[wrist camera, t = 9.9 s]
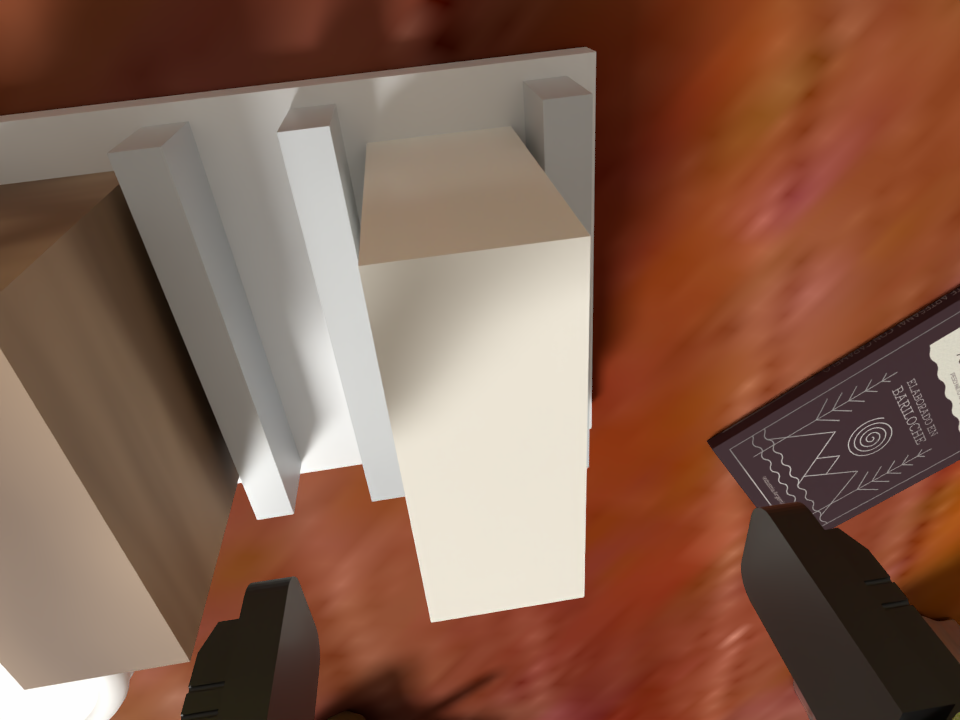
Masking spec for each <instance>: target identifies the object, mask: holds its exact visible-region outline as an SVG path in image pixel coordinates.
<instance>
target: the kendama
mask: <svg viewBox="0 0 960 720" xmlns="http://www.w3.org/2000/svg"><path fill="white" fill-rule="evenodd" d="M327 720H365V718H364V716H363V715H359V714H356V713H353V712H350V711H343V712H341V713H339V714H337V715H334V716H332V717H330V718H328V719H327Z"/></svg>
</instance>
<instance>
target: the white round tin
mask: <svg viewBox="0 0 960 720" xmlns="http://www.w3.org/2000/svg"><path fill="white" fill-rule="evenodd" d="M134 672H135V671H132V672H126V673H120V674H114V675H108V676H103V677H97V678H91V679H85V680H79V681H73V682H67V683H62V684H56V685H50V686H44V687H38V688H32V689H27V690H24V689H23V688H22V687H21V686H20V684H19V683H18V682H17V681H16V680H15V679H14V678H13V677H12V676H11V674H10V673H9V672H8V671H7V670H6V669H5V668H4V667H3V666H2V665H1V663H0V720H109V719H110V718H111V717H112V716H113V715H114V714H115V713H116V712H117V710H118V709H119V707H120V706H121V704H122V703H123V701H124V699H125V698H126V695H127V692H128V690H129V681H130V678H131V677H132V675H133V673H134Z"/></svg>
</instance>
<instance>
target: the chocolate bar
mask: <svg viewBox="0 0 960 720" xmlns="http://www.w3.org/2000/svg"><path fill="white" fill-rule="evenodd" d="M707 442H708V444H709V445H710V447H711V448H712V450H713V451H714V452H715V454H716V455H717V456H718V458H719V459H720V460H721V462H722V463H723V464H724V465H725V467H726V468H727V469H728V471H729V472H730V473H731V475H732V476H733V477H734V479H735V480H736V481H737V483H738V484H739V485H740V486H741V488H742V489H743V490H744V492H745V493H746V494H747V496H748V497H749V498H750V500H751V501H752V502H753V504H754V505H755V506H756V507H757V508H759V507H765V506H772V505H778V504H785V503H792V502H800V503H802V504H804V505H805V506H806V507H808V509H809V510H810V511H811V512H812V514H813V515H814V516H815V518H816V519H817V520H818V522H819V523H820V524H821V526H822V527H823V528H824V530H827V529H832V528H834V527H836V526H838V525H840V524H841V523H843V522H845V521H847V520H849V519H851V518H853V517H854V516H856V515H858V514H860V513H862V512H864V511H866V510H867V509H869V508H871V507H873V506H875V505H877V504H879V503H880V502H882V501H884V500H886V499H888V498H890V497H891V496H893V495H895V494H897V493H899V492H901V491H903V490H904V489H906V488H908V487H910V486H912V485H914V484H916V483H917V482H919V481H921V480H923V479H925V478H927V477H929V476H930V475H932V474H934V473H936V472H938V471H940V470H942V469H943V468H945V467H947V466H949V465H951V464H953V463H955V462H956V461H958V460H960V287H958V288H957V289H955V290H954V291H952V292H950V293H949V294H947V295H945V296H944V297H942V298H940V299H939V300H937V301H936V302H934V303H932V304H931V305H929V306H927V307H926V308H924V309H922V310H921V311H919V312H918V313H916V314H914V315H913V316H911V317H909V318H908V319H906V320H904V321H903V322H901V323H899V324H898V325H896V326H895V327H893V328H891V329H890V330H888V331H886V332H885V333H883V334H881V335H880V336H878V337H877V338H875V339H873V340H872V341H870V342H868V343H867V344H865V345H863V346H862V347H860V348H859V349H857V350H855V351H854V352H852V353H850V354H849V355H847V356H845V357H844V358H842V359H840V360H839V361H837V362H836V363H834V364H832V365H831V366H829V367H827V368H826V369H824V370H822V371H821V372H819V373H818V374H816V375H814V376H813V377H811V378H809V379H808V380H806V381H804V382H803V383H801V384H800V385H798V386H796V387H795V388H793V389H791V390H790V391H788V392H786V393H785V394H783V395H781V396H780V397H778V398H777V399H775V400H773V401H772V402H770V403H768V404H767V405H765V406H763V407H762V408H760V409H759V410H757V411H755V412H754V413H752V414H750V415H749V416H747V417H745V418H744V419H742V420H741V421H739V422H737V423H736V424H734V425H732V426H731V427H729V428H727V429H726V430H724V431H722V432H721V433H719V434H718V435H716V436H714V437H713V438H711V439H709V440H708V441H707Z"/></svg>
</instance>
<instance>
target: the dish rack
mask: <svg viewBox="0 0 960 720" xmlns="http://www.w3.org/2000/svg"><path fill="white" fill-rule="evenodd" d="M595 105H596V51H594V50H592V49H590V48H588V47H580V48H571V49H563V50H554V51H546V52H537V53H529V54H520V55H512V56H504V57H495V58H487V59H478V60H470V61H461V62H453V63H444V64H436V65H427V66H419V67H410V68H402V69H393V70H385V71H376V72H368V73H359V74H351V75H342V76H334V77H325V78H317V79H308V80H300V81H291V82H283V83H274V84H266V85H257V86H249V87H241V88H232V89H224V90H215V91H207V92H198V93H190V94H181V95H173V96H164V97H156V98H147V99H139V100H130V101H122V102H113V103H105V104H96V105H88V106H79V107H71V108H62V109H54V110H45V111H37V112H28V113H20V114H11V115H3V116H0V185H4V184H12V183H20V182H28V181H36V180H44V179H52V178H60V177H68V176H76V175H84V174H92V173H100V172H108V171H114V172H115V175H116V177H117V180H118V182H119V185H120V187H121V189H122V192H123V194H124V197H125V199H126V202H127V204H128V206H129V209H130V211H131V214H132V216H133V219H134V221H135V223H136V226H137V228H138V231H139V233H140V236H141V238H142V240H143V243H144V245H145V248H146V250H147V253H148V255H149V258H150V260H151V262H152V265H153V267H154V270H155V272H156V275H157V277H158V279H159V282H160V284H161V287H162V289H163V292H164V294H165V296H166V299H167V301H168V304H169V306H170V309H171V311H172V313H173V316H174V318H175V321H176V323H177V326H178V328H179V330H180V333H181V335H182V338H183V340H184V343H185V345H186V348H187V350H188V352H189V355H190V357H191V360H192V362H193V365H194V367H195V369H196V372H197V374H198V377H199V379H200V382H201V384H202V386H203V389H204V391H205V394H206V396H207V399H208V401H209V403H210V406H211V408H212V411H213V413H214V416H215V418H216V421H217V423H218V425H219V428H220V430H221V433H222V435H223V438H224V440H225V442H226V445H227V447H228V450H229V452H230V455H231V457H232V459H233V462H234V464H235V467H236V469H237V472H238V474H239V479H238V483H242V484H243V486H244V489H245V491H246V493H247V496H248V498H249V501H250V503H251V506H252V508H253V511H254V513H255V515H256V518H257V520H259V519H265V518H272V517H278V516H284V515H290V514H294V510H295V503H296V497H297V490H298V483H299V477H300V474H301V473H307V472H314V471H320V470H327V469H333V468H339V467H346V466H352V465H359V464H363V468H364V472H365V476H366V480H367V484H368V487H369V491H370V495H371V499H372V501H379V500H385V499H391V498H397V497H404V496H405V492H404V488H403V483H402V478H401V473H400V468H399V463H398V458H397V453H396V449H395V444H394V439H393V434H392V429H391V424H390V419H389V414H388V409H387V405H386V400H385V395H384V390H383V385H382V380H381V375H380V370H379V365H378V361H377V356H376V351H375V346H374V341H373V336H372V331H371V326H370V322H369V317H368V312H367V307H366V302H365V297H364V292H363V287H362V282H361V278H360V273H359V268H358V261H359V247H360V232H361V218H362V203H363V189H364V174H365V160H366V146H367V143H371V142H379V141H388V140H397V139H405V138H414V137H422V136H431V135H440V134H448V133H457V132H465V131H474V130H482V129H491V128H500V127H508V126H511V127H512V128H513V129H514V131H515V132H516V134H517V135H518V136H519V138H520V139H521V140H522V142H523V143H524V145H525V146H526V147H527V149H528V150H529V152H530V153H531V154H532V156H533V157H534V158H535V160H536V161H537V163H538V164H539V165H540V167H541V168H542V169H543V171H544V172H545V174H546V175H547V176H548V178H549V179H550V181H551V182H552V183H553V185H554V186H555V187H556V189H557V190H558V192H559V193H560V194H561V196H562V197H563V198H564V200H565V201H566V203H567V204H568V205H569V207H570V208H571V210H572V211H573V212H574V214H575V215H576V216H577V218H578V219H579V221H580V222H581V223H582V225H583V226H584V227H585V229H586V230H587V232H588V233H589V234H590V236H591V249H590V304H589V359H588V415H587V467H589V429H591V416H592V338H593V261H594V183H595Z"/></svg>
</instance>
